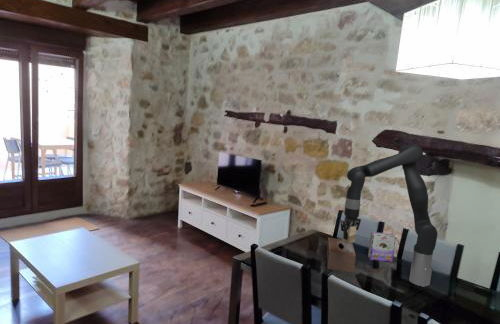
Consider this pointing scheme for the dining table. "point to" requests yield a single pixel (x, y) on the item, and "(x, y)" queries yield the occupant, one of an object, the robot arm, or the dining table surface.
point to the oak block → (350, 234)
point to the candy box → (381, 247)
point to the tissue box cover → (340, 255)
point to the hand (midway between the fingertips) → (348, 238)
